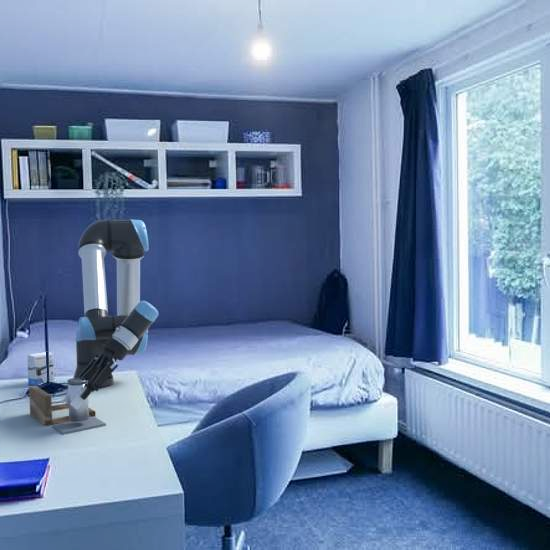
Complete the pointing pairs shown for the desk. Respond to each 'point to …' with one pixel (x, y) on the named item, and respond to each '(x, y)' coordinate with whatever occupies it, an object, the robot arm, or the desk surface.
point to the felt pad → (78, 425)
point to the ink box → (39, 368)
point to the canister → (73, 390)
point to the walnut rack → (47, 407)
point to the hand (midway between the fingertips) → (69, 404)
